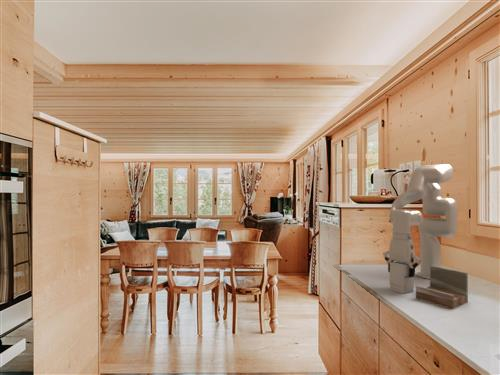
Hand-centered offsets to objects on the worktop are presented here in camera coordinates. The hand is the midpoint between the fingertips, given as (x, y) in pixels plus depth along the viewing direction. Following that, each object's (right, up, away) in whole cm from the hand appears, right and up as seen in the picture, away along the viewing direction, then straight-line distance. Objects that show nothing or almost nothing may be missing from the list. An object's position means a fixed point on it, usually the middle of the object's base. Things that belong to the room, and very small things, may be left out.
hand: (401, 274), depth 139 cm
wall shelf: (+11, -7, -12) cm, 18 cm away
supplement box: (0, -8, 0) cm, 8 cm away
